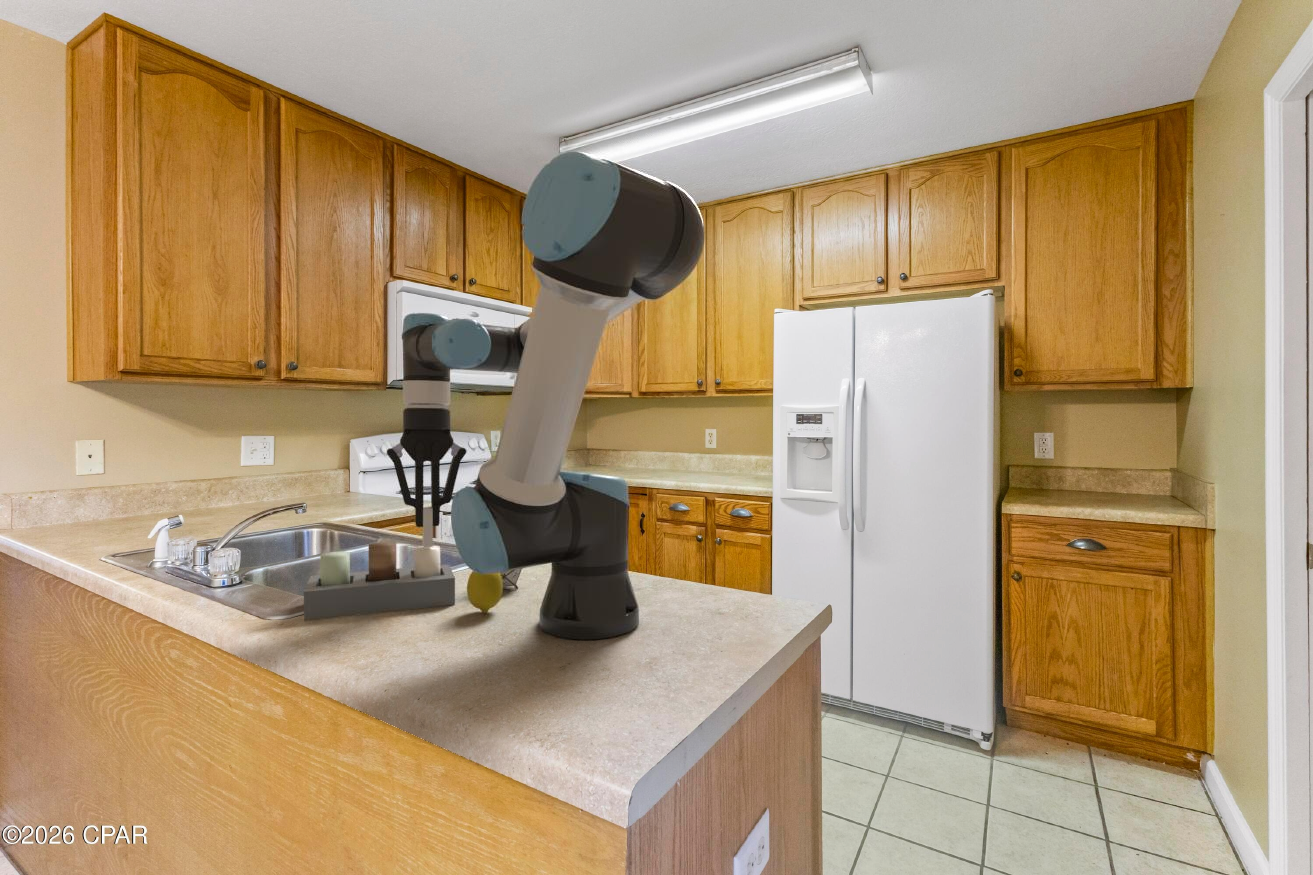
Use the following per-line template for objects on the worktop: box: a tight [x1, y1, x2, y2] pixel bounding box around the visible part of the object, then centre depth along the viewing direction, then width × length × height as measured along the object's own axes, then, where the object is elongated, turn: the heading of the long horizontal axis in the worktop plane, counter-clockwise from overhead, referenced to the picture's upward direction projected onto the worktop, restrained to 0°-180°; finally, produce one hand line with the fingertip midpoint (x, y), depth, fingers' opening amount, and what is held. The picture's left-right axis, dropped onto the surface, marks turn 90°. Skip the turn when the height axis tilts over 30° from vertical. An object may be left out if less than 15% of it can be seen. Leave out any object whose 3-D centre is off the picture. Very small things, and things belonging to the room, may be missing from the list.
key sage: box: [320, 551, 351, 586], centre depth 101 cm, size 4×4×7 cm
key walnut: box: [368, 541, 397, 582], centre depth 104 cm, size 4×4×7 cm
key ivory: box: [413, 545, 441, 578], centre depth 107 cm, size 4×4×7 cm
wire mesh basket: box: [500, 568, 524, 590], centre depth 114 cm, size 9×8×10 cm
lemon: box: [466, 570, 504, 614], centre depth 100 cm, size 6×6×8 cm
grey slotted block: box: [303, 563, 456, 622], centre depth 104 cm, size 10×22×4 cm, turn 114°
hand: (427, 545), depth 107 cm, fingers closed
